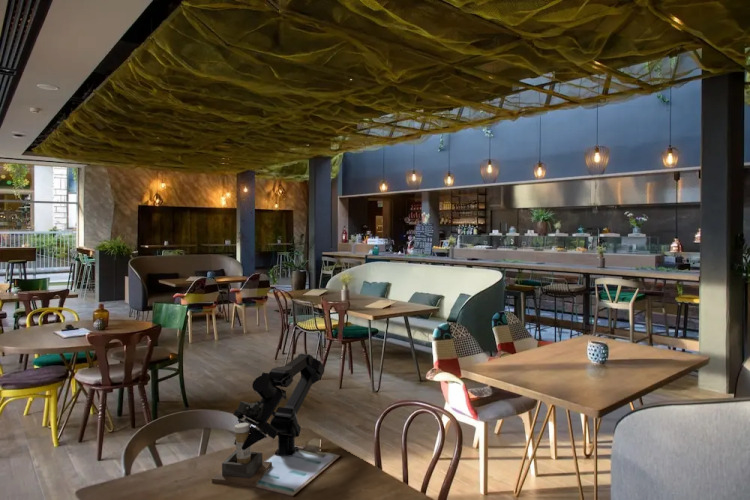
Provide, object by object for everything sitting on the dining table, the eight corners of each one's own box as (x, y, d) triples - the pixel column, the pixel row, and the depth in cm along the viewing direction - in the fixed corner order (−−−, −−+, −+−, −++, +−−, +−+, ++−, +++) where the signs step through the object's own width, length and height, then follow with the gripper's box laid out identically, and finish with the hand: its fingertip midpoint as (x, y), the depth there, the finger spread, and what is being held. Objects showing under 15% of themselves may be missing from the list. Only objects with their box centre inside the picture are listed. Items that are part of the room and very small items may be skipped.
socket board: (232, 462, 174) (232, 446, 174) (271, 465, 172) (271, 450, 171) (211, 482, 161) (211, 466, 160) (254, 486, 158) (254, 470, 158)
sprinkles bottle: (249, 462, 169) (247, 421, 169) (253, 467, 165) (251, 425, 165) (235, 465, 167) (233, 424, 167) (238, 471, 163) (236, 428, 163)
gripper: (237, 384, 174) (207, 426, 167) (268, 398, 161) (237, 444, 154) (258, 401, 180) (230, 442, 173) (290, 416, 167) (260, 461, 160)
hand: (238, 447), depth 165 cm, fingers closed on sprinkles bottle, 4 cm apart
